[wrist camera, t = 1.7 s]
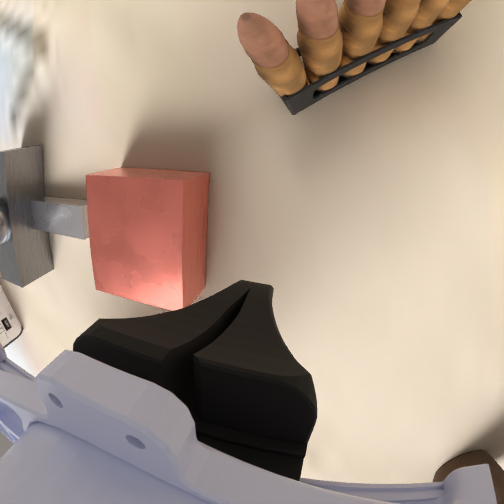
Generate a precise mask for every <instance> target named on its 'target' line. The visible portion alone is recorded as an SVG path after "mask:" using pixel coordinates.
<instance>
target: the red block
mask: <svg viewBox="0 0 504 504" xmlns="http://www.w3.org/2000/svg"><path fill="white" fill-rule="evenodd" d="M209 174H210V173H205V172H193V171H179V170H163V169H145V168H116V169H111V170H106V171H101V172H97V173H92V174H88V175H86V193H87V212H88V226H89V238H90V248H91V256H92V265H93V272H94V279H95V286H96V289H97V290H100V291H103V292H106V293H110V294H113V295H117V296H120V297H123V298H127V299H130V300H134V301H138V302H141V303H145V304H149V305H152V306H156V307H160V308H164V309H167V310H171V311H174V310H178V309H181V308H184V307H187V306H190V305H191V303H192V302H193V301H194V300H195V299H196V297H197V296H198V295H199V294H200V293H201V291H202V290H203V289H204V288H205V279H206V241H207V215H208V193H209Z"/></svg>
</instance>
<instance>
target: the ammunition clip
mask: <svg viewBox="0 0 504 504" xmlns="http://www.w3.org/2000/svg"><path fill="white" fill-rule="evenodd" d="M470 1H471V0H344V3H343V5H342V6H341V8H340V11H339V14H338V11H337V6H336V2H335V0H296V13H297V20H298V29H299V30H298V33H297V41H298V46H299V48H297V49H294V48H293V47H292V46H290V45H289V43H288V42H287V40H286V39H285V38H284V36H283V34H282V33H281V31H280V30H279V29H278V28H277V27H276V26H275V25H274V24H273V23H271V22H270V21H269V20H268V19H266V18H264V17H262V16H261V15H258V14H255V13H244V14H242V15H241V16H240V18H239V20H238V24H237V28H238V36H239V39H240V42H241V44H242V46H243V48H244V50H245V51H246V53H247V55H248V56H249V57H250V58H251V60H252V62H253V63H254V64H255V68H256V70H257V72H258V74H259V76H260V77H261V78H262V79H263V80H264V81H265V82H266V83H268V84H269V85H270V86H271V87H272V88H273V89H274V90H275V91H276V92H277V93H278V94H279V96H280V97H281V99H282V100H283V102H284V103H285V105H286V106H287V107H288V109H289V110H290V112H291V113H292V114H293V115H295V114H297V113H298V112H300V111H302V110H303V109H305V108H307V107H308V106H310V105H312V104H314V103H315V102H317V101H319V100H321V99H322V98H324V97H326V96H328V95H329V94H331V93H333V92H335V91H337V90H338V89H340V88H342V87H344V86H346V85H348V84H350V83H351V82H353V81H355V80H357V79H359V78H361V77H363V76H365V75H367V74H369V73H371V72H373V71H375V70H377V69H379V68H381V67H383V66H385V65H387V64H389V63H391V62H393V61H395V60H397V59H399V58H401V57H404V56H406V55H408V54H410V53H412V52H415V51H417V50H419V49H421V48H424V47H426V46H428V45H431V44H433V43H434V42H436V41H437V40H438V39H439V38H440V37H441V36H442V35H443V34H444V33H445V32H446V31H447V30H448V29H449V28H450V27H451V26H453V25H454V24H455V23H456V22H457V21H458V20H459V19H460V18H461V17H462V15H461V13H460V11H461V10H462V9H463V8H464V7H465V6H466V5H467V4H468V3H469V2H470ZM300 56H302V59H303V62H304V66H305V68H304V67H303V64H302V61H301V59H300Z"/></svg>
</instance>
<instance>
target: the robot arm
mask: <svg viewBox="0 0 504 504" xmlns="http://www.w3.org/2000/svg"><path fill="white" fill-rule="evenodd" d="M273 289H274V288H273V287H272V286H271V285H266V284H261V283H255V282H250V281H244V280H240V281H238V282H236V283H235V284H233V285H231V286H229V287H227V288H226V289H224V290H222V291H220V292H218V293H216V294H214V295H212V296H210V297H208V298H206V299H204V300H201V301H199V302H197V303H195V304H192V305H190V306H187V307H184V308H181V309H178V310H174V311H170V312H166V313H161V314H157V315H152V316H145V317H137V318H125V319H99V320H97V321H96V322H95V323H94V324H93V325H92V326H90V327H89V328H88V329H87V330H86V331H85V332H83V333H82V334H81V335H80V336H79V337H78V338H77V339H76V340H75V342H74V344H73V351H69V350H64V351H63V352H62V353H61V354H60V355H59V356H58V357H57V358H55V359H54V360H53V361H52V362H51V363H50V364H49V365H48V366H47V367H46V368H44V369H43V370H42V371H41V372H40V373H39V374H38V375H37V376H36V378H35V377H34V376H32V375H31V374H29V373H28V372H27V371H25V370H24V369H22V368H21V367H19V366H18V365H16V364H15V363H14V362H12V361H11V360H10V359H8V358H7V356H6V353H5V350H4V348H3V346H2V344H1V343H0V431H1V432H2V433H3V434H4V435H5V436H6V437H7V438H8V439H9V440H10V441H11V442H12V443H14V444H13V446H12V447H11V448H10V449H9V450H8V451H7V452H6V453H5V454H4V456H3V457H2V458H1V459H0V504H497V501H496V496H495V491H494V486H493V481H492V477H491V472H490V468H489V464H482V465H475V466H467V467H462V468H458V469H456V470H454V471H453V472H451V473H450V474H449V475H448V476H447V477H446V478H445V480H444V481H442V482H431V483H415V484H362V483H345V482H333V481H323V480H314V479H307V478H300V476H301V470H302V465H303V459H304V457H305V454H306V449H307V443H308V441H309V438H310V436H311V433H312V431H313V428H314V426H315V423H316V419H317V400H316V393H315V388H314V384H313V380H312V376H311V374H310V373H309V372H308V371H307V370H306V369H305V368H304V367H302V366H301V365H300V364H299V363H298V362H297V361H296V359H295V358H294V357H293V355H292V354H291V352H290V351H289V349H288V348H287V346H286V345H285V343H284V341H283V339H282V337H281V335H280V332H279V330H278V327H277V325H276V321H275V318H274V314H273V308H272V297H273Z"/></svg>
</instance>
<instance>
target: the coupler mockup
mask: <svg viewBox="0 0 504 504" xmlns="http://www.w3.org/2000/svg"><path fill="white" fill-rule="evenodd" d="M48 232H50V233H55V234H60V235H65V236H70V237H74V238H79V239H84V240H85V239H87V238H89V226H88V212H87V200H81V199H71V198H60V197H49V196H45V195H44V177H43V145H40V146H31V147H23V148H16V149H10V150H5V151H0V271H1V275H2V278H3V279H5V280H7V281H9V282H12V283H14V284H16V285H18V286H20V287H22V288H23V287H24V286H26V285H28V284H29V283H31V282H33V281H34V280H36V279H38V278H39V277H41V276H43V275H44V274H46V273H48V272H50V271H51V270H53V263H52V257H51V250H50V243H49V236H48Z"/></svg>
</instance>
